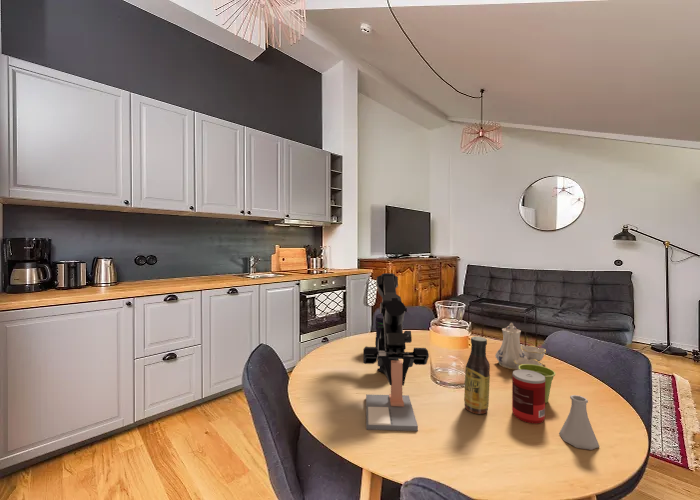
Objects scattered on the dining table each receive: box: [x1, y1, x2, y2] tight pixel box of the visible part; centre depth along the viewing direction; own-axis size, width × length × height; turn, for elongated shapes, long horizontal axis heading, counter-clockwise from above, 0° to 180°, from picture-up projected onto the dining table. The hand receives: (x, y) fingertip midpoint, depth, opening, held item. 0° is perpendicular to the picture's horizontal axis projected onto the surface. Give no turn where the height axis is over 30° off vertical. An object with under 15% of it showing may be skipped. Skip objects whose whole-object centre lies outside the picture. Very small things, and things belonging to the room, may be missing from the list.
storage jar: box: [374, 313, 384, 352], centre depth 138 cm, size 10×10×15 cm
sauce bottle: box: [463, 336, 491, 415], centre depth 88 cm, size 7×6×20 cm
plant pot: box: [518, 364, 556, 404], centre depth 95 cm, size 9×9×9 cm
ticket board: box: [365, 394, 419, 432], centre depth 86 cm, size 16×12×2 cm
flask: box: [558, 394, 600, 451], centre depth 74 cm, size 7×7×10 cm
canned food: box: [511, 369, 546, 425], centre depth 85 cm, size 8×8×11 cm
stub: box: [388, 359, 404, 407], centre depth 90 cm, size 6×4×11 cm, turn 177°
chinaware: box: [494, 322, 547, 371], centre depth 119 cm, size 28×17×17 cm, turn 150°
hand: (397, 384), depth 89 cm, fingers closed on stub, 3 cm apart
